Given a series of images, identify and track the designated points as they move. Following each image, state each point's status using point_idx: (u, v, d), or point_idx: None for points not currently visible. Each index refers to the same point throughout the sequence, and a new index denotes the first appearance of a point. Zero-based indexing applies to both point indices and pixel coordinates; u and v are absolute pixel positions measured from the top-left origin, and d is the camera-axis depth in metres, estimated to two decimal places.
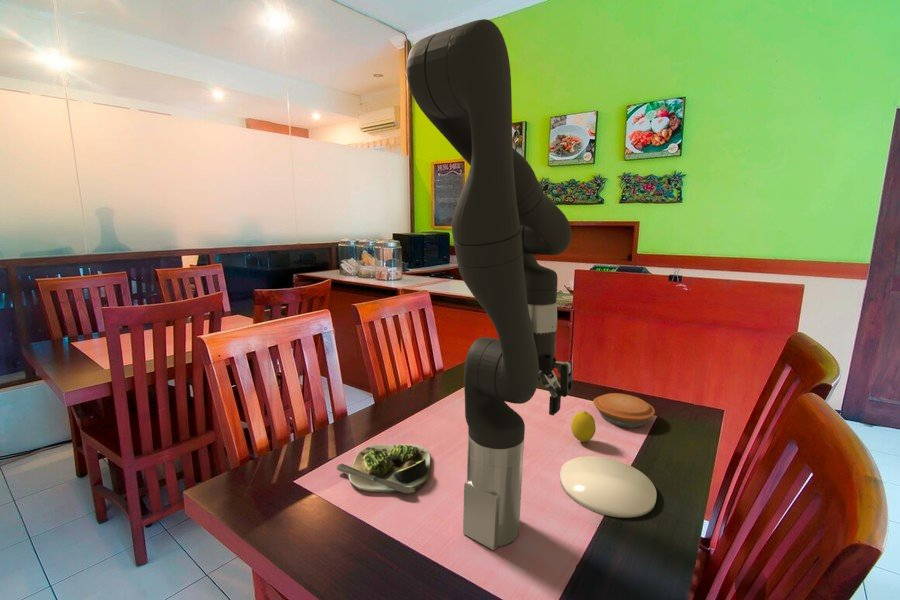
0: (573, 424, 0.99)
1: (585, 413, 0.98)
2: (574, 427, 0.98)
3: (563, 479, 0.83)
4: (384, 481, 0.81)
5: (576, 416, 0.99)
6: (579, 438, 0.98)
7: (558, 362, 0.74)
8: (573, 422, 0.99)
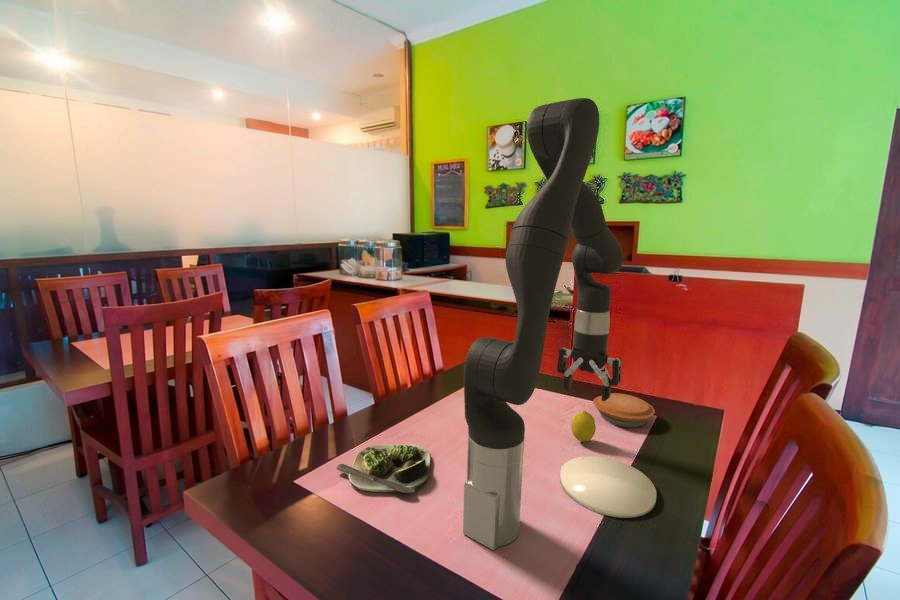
0: (573, 424, 0.99)
1: (585, 413, 0.98)
2: (574, 427, 0.98)
3: (563, 479, 0.83)
4: (384, 481, 0.81)
5: (576, 416, 0.99)
6: (579, 438, 0.98)
7: (610, 358, 0.93)
8: (573, 422, 0.99)
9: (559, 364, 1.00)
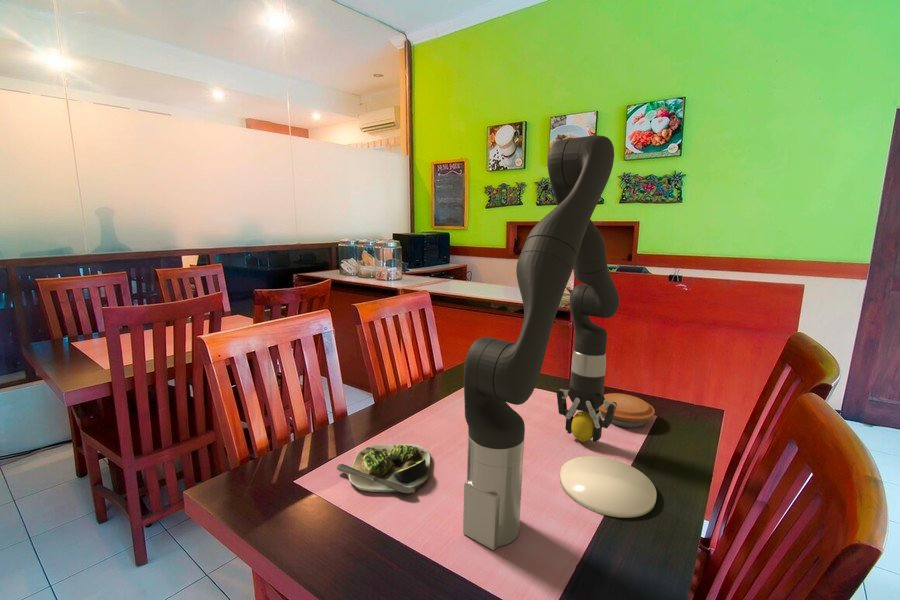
0: (573, 424, 0.99)
1: (585, 413, 0.98)
2: (573, 427, 0.98)
3: (563, 479, 0.83)
4: (384, 481, 0.81)
5: (576, 416, 0.99)
6: (579, 438, 0.98)
7: (606, 401, 0.95)
8: (573, 422, 0.99)
9: (559, 406, 1.01)
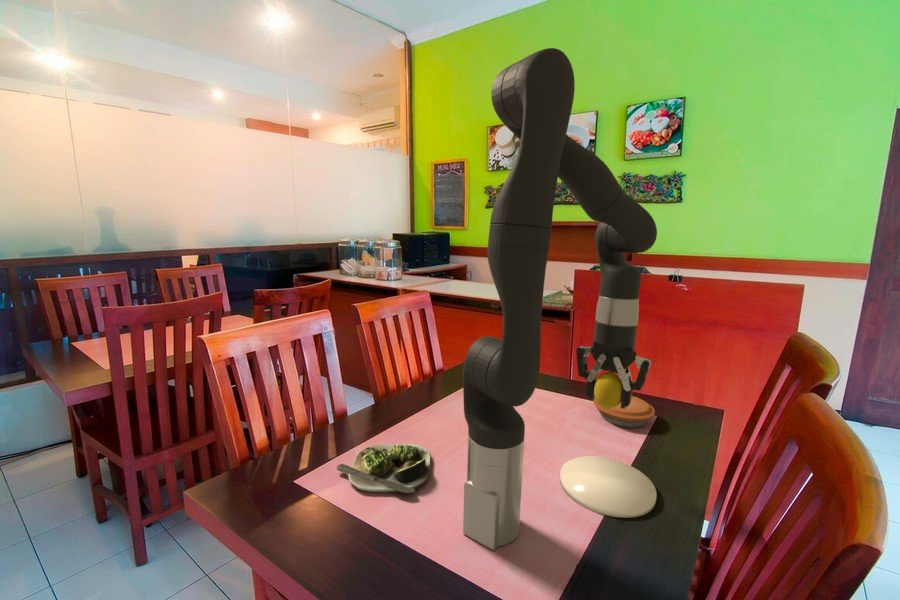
0: (597, 387, 0.81)
1: (611, 373, 0.81)
2: (597, 391, 0.81)
3: (563, 479, 0.83)
4: (384, 481, 0.81)
5: (600, 377, 0.81)
6: (604, 404, 0.80)
7: (639, 357, 0.78)
8: (596, 385, 0.81)
9: (579, 367, 0.84)
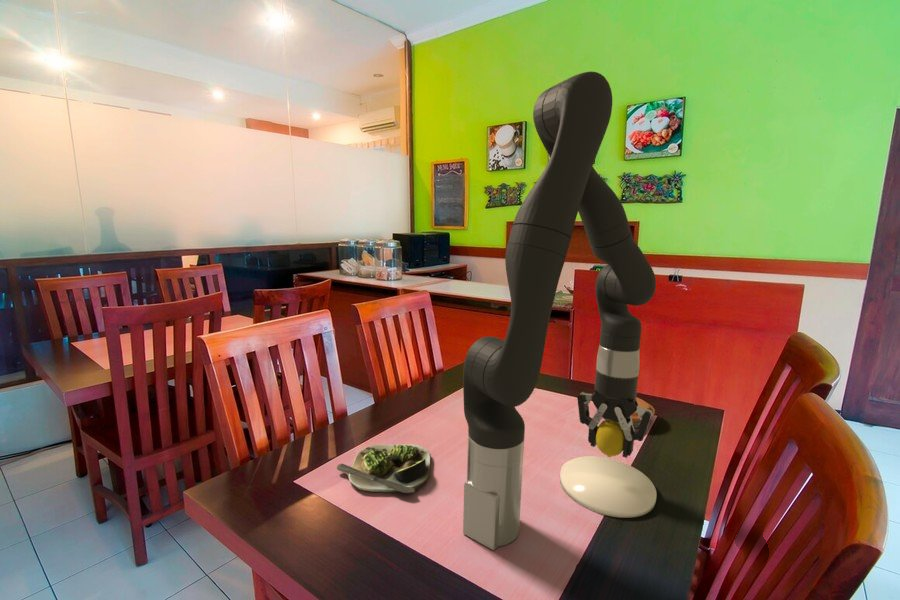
0: (598, 435, 0.81)
1: (613, 422, 0.80)
2: (599, 439, 0.81)
3: (563, 479, 0.83)
4: (384, 481, 0.81)
5: (602, 425, 0.81)
6: (606, 452, 0.80)
7: (640, 408, 0.77)
8: (598, 433, 0.81)
9: (581, 414, 0.83)
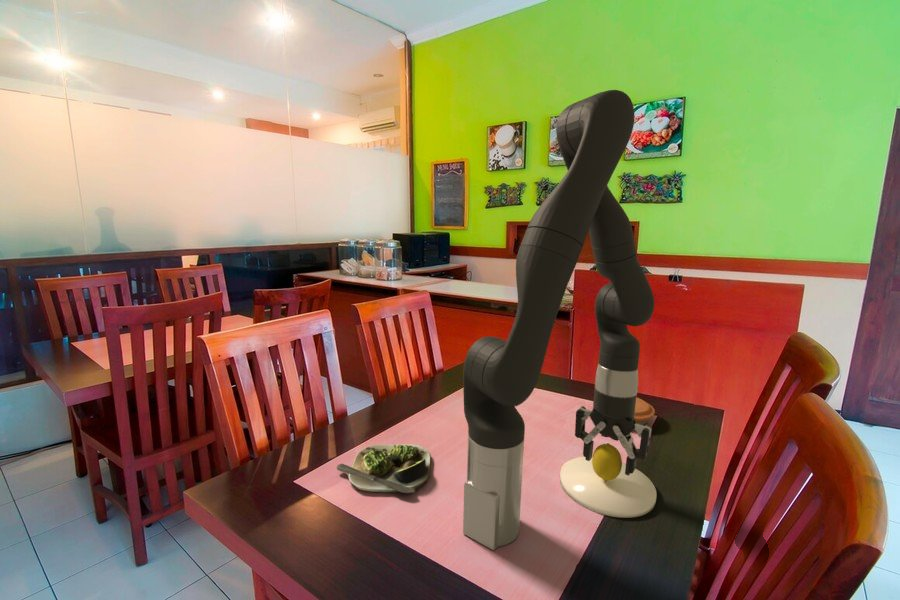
0: (595, 459, 0.82)
1: (609, 446, 0.81)
2: (595, 463, 0.82)
3: (563, 479, 0.83)
4: (384, 481, 0.81)
5: (598, 450, 0.82)
6: (602, 477, 0.81)
7: (639, 425, 0.78)
8: (594, 457, 0.82)
9: (577, 428, 0.84)
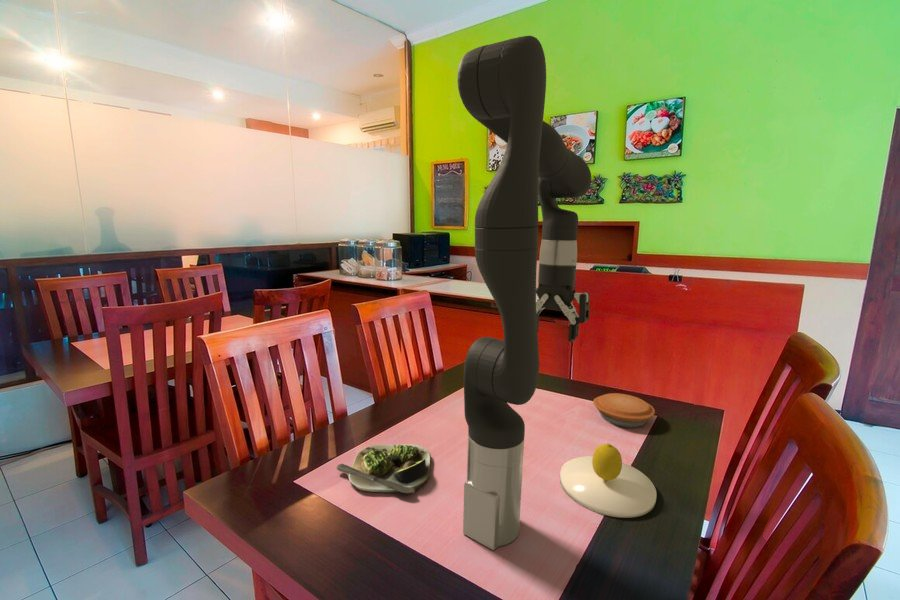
0: (595, 459, 0.82)
1: (609, 446, 0.81)
2: (595, 463, 0.82)
3: (563, 479, 0.83)
4: (384, 481, 0.81)
5: (598, 450, 0.82)
6: (602, 477, 0.81)
7: (577, 293, 0.84)
8: (595, 457, 0.82)
9: None
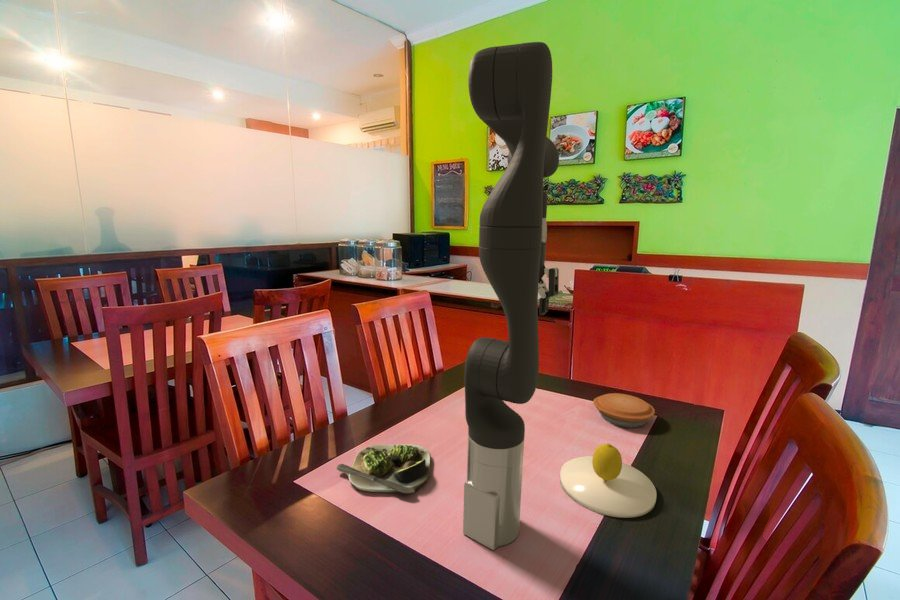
0: (595, 459, 0.82)
1: (609, 446, 0.81)
2: (596, 463, 0.81)
3: (563, 479, 0.83)
4: (384, 481, 0.81)
5: (598, 450, 0.82)
6: (602, 477, 0.81)
7: (547, 268, 0.89)
8: (595, 457, 0.82)
9: None
